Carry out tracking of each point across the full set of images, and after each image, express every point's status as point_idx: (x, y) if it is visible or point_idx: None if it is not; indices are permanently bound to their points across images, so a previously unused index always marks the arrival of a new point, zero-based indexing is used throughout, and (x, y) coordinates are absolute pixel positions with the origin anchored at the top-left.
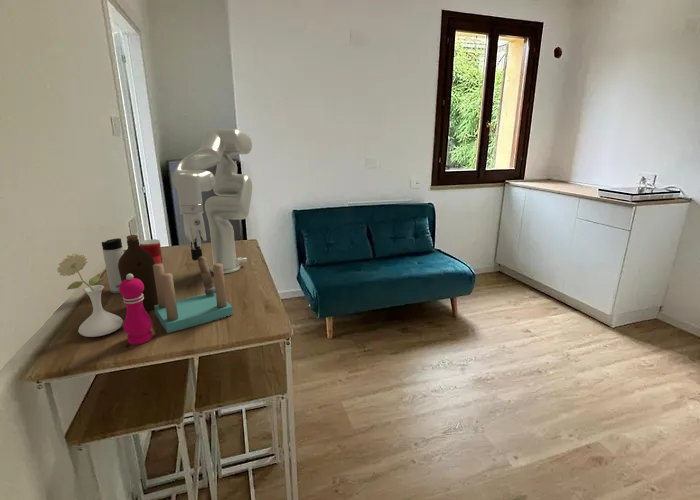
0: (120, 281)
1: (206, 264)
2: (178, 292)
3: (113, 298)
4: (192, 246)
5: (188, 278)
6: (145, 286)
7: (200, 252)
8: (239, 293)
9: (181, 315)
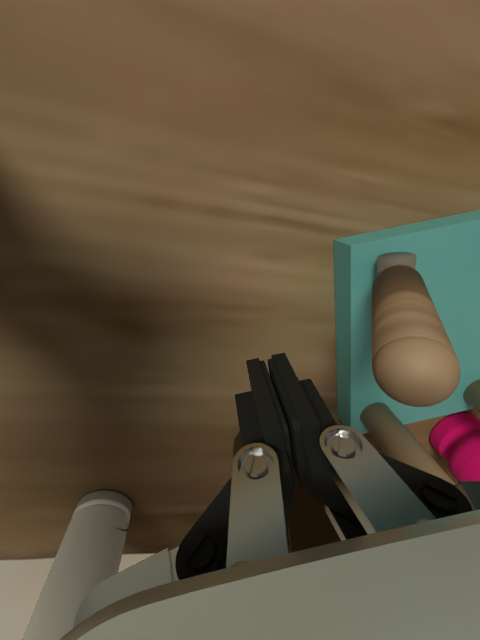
0: (120, 541)
1: (445, 331)
2: (192, 365)
3: (168, 507)
4: (345, 530)
5: (22, 327)
6: None
7: (304, 399)
8: (332, 115)
9: (475, 371)
